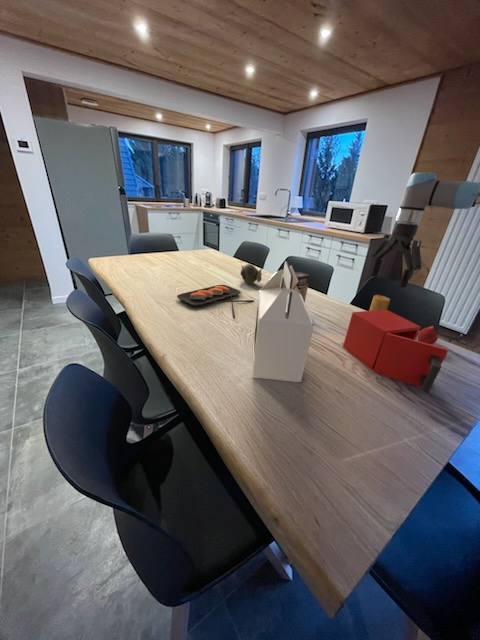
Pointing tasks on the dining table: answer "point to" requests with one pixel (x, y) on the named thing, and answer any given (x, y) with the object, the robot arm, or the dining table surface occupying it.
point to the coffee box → (302, 283)
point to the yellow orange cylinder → (379, 303)
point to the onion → (428, 335)
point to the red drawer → (410, 361)
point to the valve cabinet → (375, 333)
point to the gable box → (281, 329)
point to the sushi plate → (210, 295)
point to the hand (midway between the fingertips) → (387, 281)
